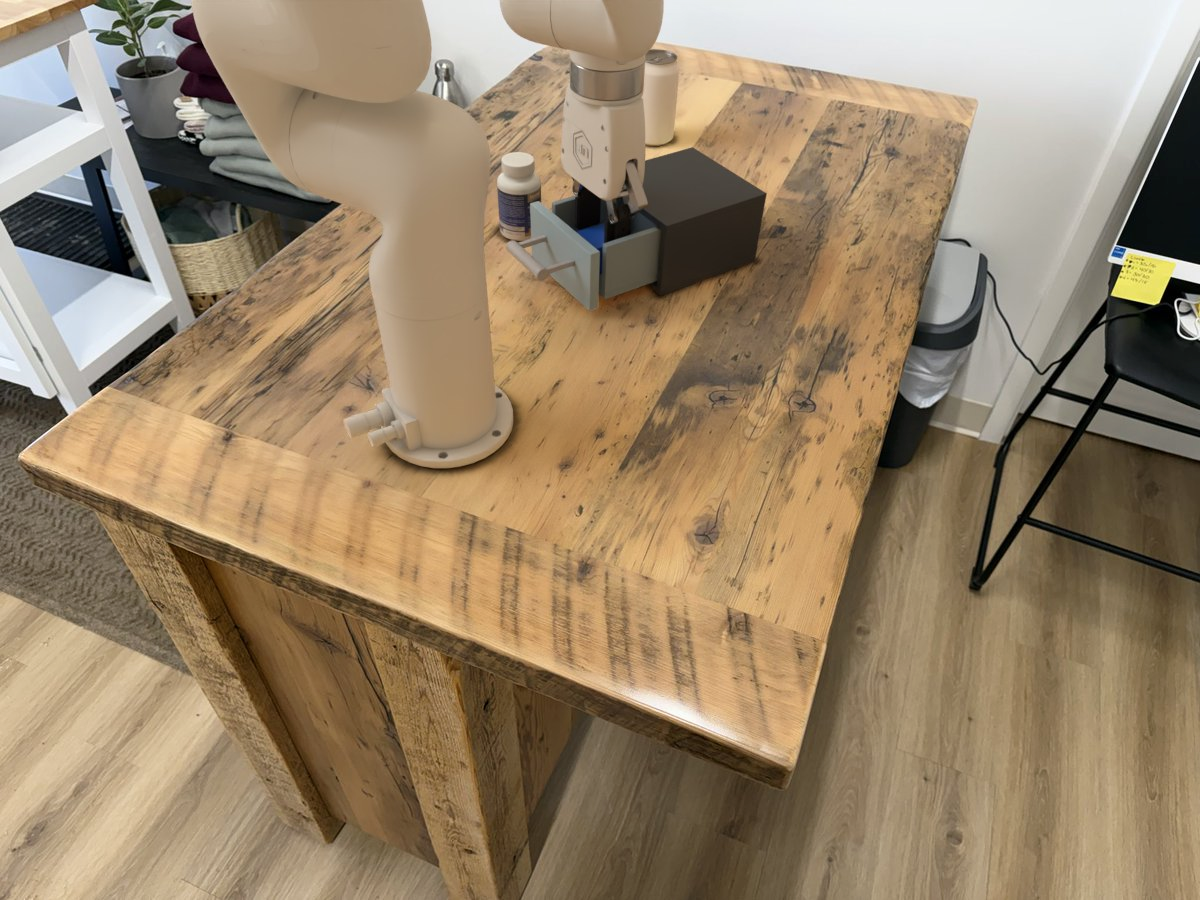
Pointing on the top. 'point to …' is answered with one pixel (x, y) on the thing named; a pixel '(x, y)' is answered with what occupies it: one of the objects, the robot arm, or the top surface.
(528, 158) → the pill bottle
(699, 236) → the small storage cabinet
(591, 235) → the matte blue toy brick
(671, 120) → the can
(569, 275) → the drawer
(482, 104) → the top surface
